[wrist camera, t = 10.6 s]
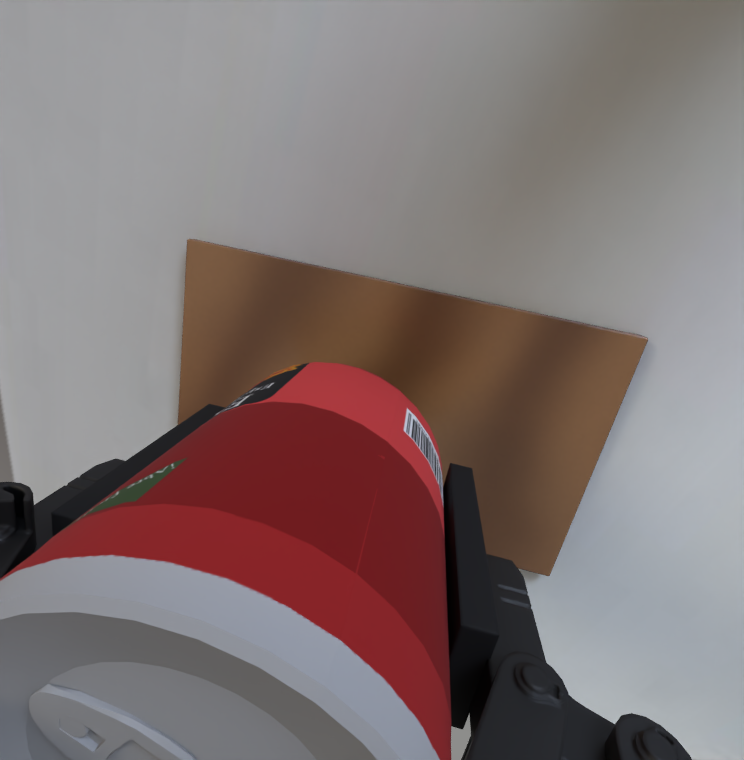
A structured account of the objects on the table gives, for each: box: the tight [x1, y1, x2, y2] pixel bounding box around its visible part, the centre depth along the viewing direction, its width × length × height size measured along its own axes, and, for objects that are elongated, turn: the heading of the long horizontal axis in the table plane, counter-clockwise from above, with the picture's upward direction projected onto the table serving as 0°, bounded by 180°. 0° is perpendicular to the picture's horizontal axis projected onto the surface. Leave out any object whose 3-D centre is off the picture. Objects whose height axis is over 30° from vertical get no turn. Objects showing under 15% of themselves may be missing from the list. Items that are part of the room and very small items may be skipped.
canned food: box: [0, 362, 451, 760], centre depth 11 cm, size 8×8×11 cm
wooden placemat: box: [178, 239, 648, 576], centre depth 20 cm, size 20×12×1 cm, turn 79°
